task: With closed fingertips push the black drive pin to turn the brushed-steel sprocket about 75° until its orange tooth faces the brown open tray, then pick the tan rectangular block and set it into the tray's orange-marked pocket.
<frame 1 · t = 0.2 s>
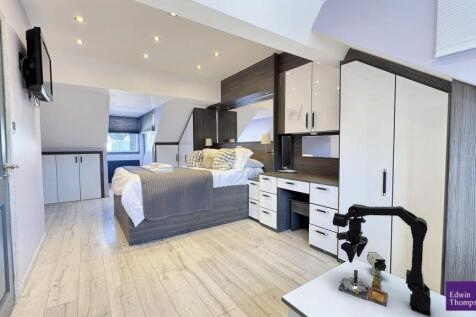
hand: (354, 259, 114), 13 cm above the table, fingers open, 9 cm apart
brown open tray: (377, 297, 105), on the table
sprocket base: (353, 288, 112), on the table
sprocket: (354, 280, 112), point 4 cm above the table, hinge at 0.0°
tan rectangular block: (376, 287, 113), on the table
pneumatic valve: (375, 275, 125), on the table
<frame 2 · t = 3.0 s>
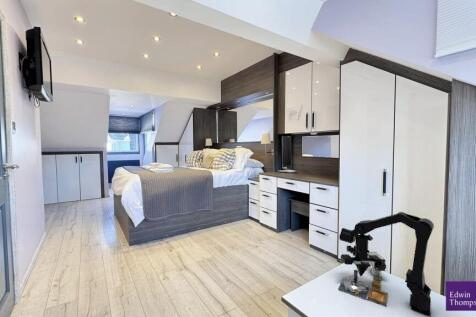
hand: (360, 275, 115), 5 cm above the table, fingers closed
sprocket: (354, 280, 112), point 4 cm above the table, hinge at 0.1°, touching gripper
everything else where it was.
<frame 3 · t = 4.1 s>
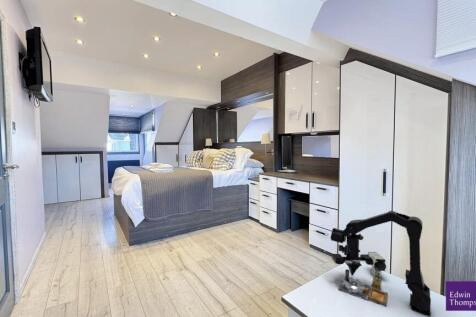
hand: (351, 275, 116), 5 cm above the table, fingers closed
sprocket: (354, 280, 112), point 4 cm above the table, hinge at 63.8°, touching gripper
everything else where it was.
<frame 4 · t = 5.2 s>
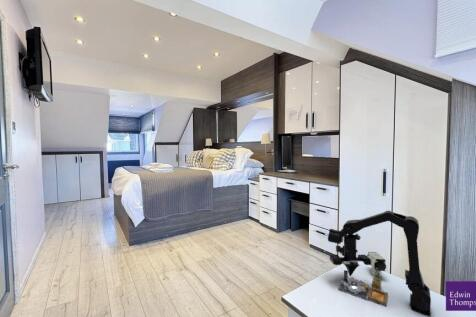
hand: (350, 275, 115), 5 cm above the table, fingers closed
sprocket: (354, 280, 112), point 4 cm above the table, hinge at 86.7°, touching gripper
everything else where it was.
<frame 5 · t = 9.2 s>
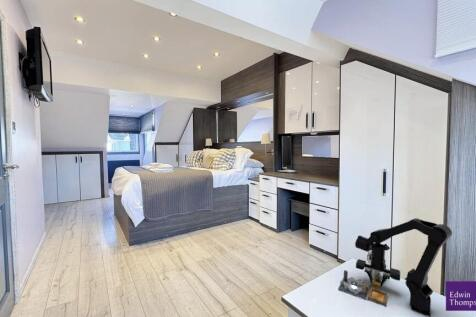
hand: (376, 285, 113), 1 cm above the table, fingers closed on tan rectangular block, 3 cm apart
sprocket: (354, 280, 112), point 4 cm above the table, hinge at 86.8°
tan rectangular block: (376, 287, 113), on the table, touching gripper
everything else where it was.
when the fingers open (3 cm above the table, at t = 12.4 s): tan rectangular block drops 1 cm, resting on brown open tray.
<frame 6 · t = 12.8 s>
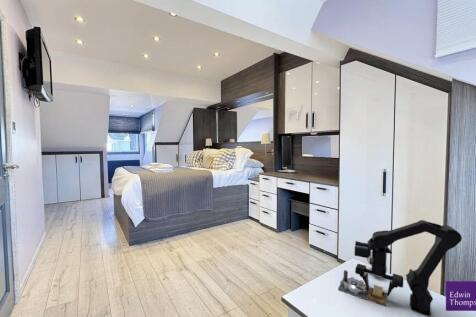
hand: (377, 292, 105), 3 cm above the table, fingers open, 8 cm apart
tan rectangular block: (377, 296, 105), resting on brown open tray
everything else where it was.
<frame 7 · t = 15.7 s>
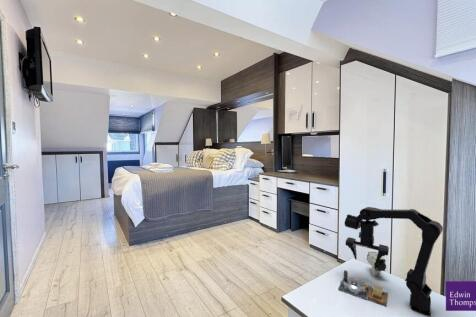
hand: (365, 262, 115), 12 cm above the table, fingers open, 9 cm apart
nothing on the table moved.
at the end: sprocket at +87° (first picture: +0°); tan rectangular block 0.0 cm from the target spot, point 0.5 cm above the table; the gripper is holding nothing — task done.
